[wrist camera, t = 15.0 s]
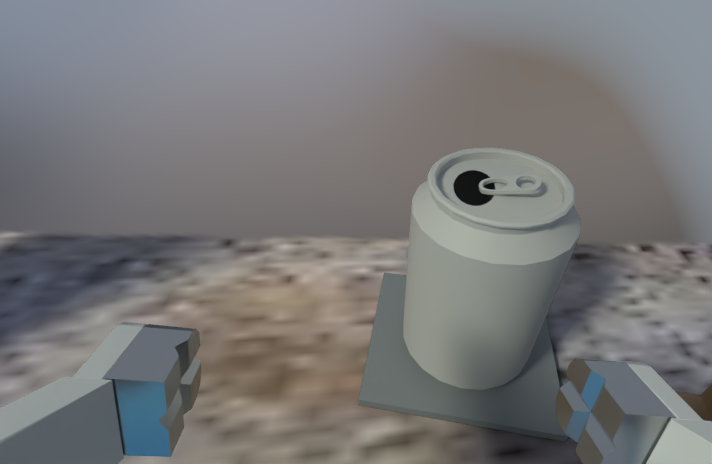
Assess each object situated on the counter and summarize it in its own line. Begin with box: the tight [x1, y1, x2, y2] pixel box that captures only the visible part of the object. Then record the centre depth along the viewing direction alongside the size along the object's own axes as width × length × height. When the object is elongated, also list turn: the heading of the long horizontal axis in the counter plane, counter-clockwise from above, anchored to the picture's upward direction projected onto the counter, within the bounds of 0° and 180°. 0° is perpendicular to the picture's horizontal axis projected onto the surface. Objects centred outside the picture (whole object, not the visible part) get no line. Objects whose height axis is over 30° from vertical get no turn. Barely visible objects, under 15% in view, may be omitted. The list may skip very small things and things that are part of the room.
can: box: [403, 147, 580, 390], centre depth 22 cm, size 8×8×12 cm
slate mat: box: [358, 273, 569, 442], centre depth 26 cm, size 11×10×1 cm
